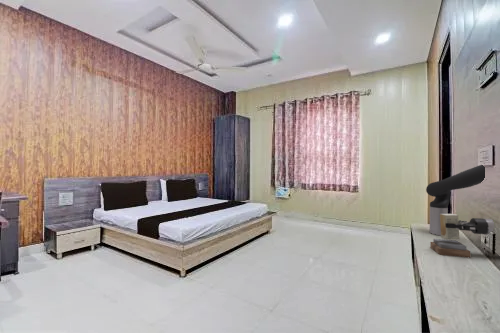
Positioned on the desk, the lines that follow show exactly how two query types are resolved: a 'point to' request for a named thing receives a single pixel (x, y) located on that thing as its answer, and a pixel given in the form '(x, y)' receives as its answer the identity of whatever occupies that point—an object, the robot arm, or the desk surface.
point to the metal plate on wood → (449, 248)
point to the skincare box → (449, 232)
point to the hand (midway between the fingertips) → (443, 224)
